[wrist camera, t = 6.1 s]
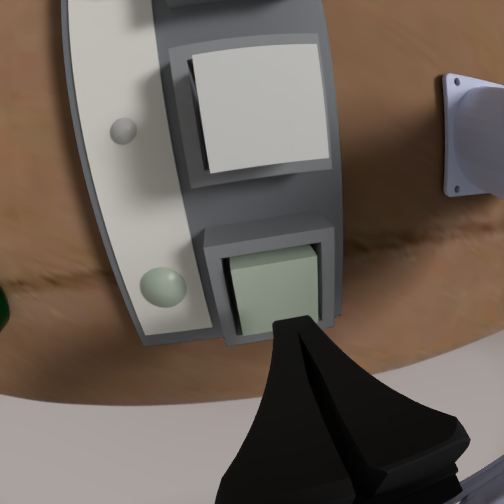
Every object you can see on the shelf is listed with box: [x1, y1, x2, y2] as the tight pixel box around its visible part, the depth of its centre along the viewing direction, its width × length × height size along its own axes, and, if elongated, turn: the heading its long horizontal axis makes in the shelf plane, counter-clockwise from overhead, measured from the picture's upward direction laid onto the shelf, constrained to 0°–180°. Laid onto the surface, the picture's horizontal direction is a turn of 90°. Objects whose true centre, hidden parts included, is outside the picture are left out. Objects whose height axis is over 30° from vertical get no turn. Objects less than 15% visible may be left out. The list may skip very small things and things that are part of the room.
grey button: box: [192, 44, 329, 174], centre depth 9 cm, size 4×4×2 cm
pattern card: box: [68, 0, 213, 335], centre depth 12 cm, size 4×22×1 cm, turn 7°
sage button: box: [229, 244, 318, 336], centre depth 14 cm, size 4×4×2 cm
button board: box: [61, 0, 343, 346], centre depth 12 cm, size 12×24×4 cm, turn 7°
